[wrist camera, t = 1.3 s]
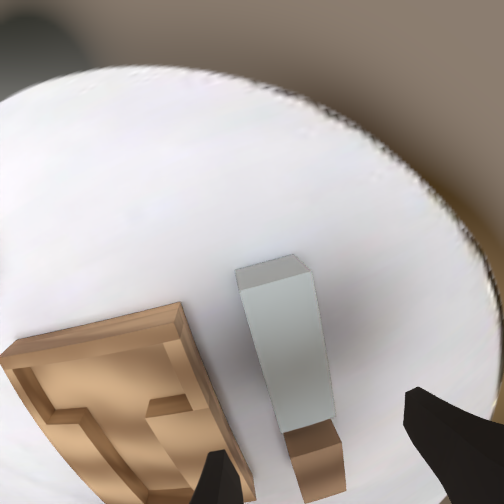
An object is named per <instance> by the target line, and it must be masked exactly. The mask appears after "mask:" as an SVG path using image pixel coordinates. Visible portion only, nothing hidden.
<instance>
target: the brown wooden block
mask: <svg viewBox="0 0 504 504" xmlns="http://www.w3.org/2000/svg"><path fill="white" fill-rule="evenodd" d="M283 434H284V438H285V442H286V445H287V449H288V453H289V456H290V460H291V463H292V466H293V469H294V472H295V475H296V478H297V481H298V485H299V488H300V491H301V494H302V497H303V500H304V503H305V504H306V503H309V502H313V501H316V500H320V499H323V498H326V497H329V496H333V495H336V494H339V493H342V492H344V491H346V480H345V469H344V460H343V450H342V442H341V440H340V438H339V436H338V434H337V432H336V429H335V427H334V425H333V423H332V421H331V419H327V420H324V421H321V422H318V423H315V424H312V425H309V426H305V427H302V428H299V429H295V430H292V431H288V432H284V433H283Z"/></svg>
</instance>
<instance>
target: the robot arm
mask: <svg viewBox="0 0 504 504" xmlns="http://www.w3.org/2000/svg"><path fill="white" fill-rule="evenodd" d="M403 426H404V428H405V430H406V431H407V433H408V435H409V437H410V439H411V441H412V443H413V444H414V446H415V447H416V449H417V450H418V451H419V453H420V454H421V456H422V457H423V458H424V460H425V461H426V462H427V464H428V465H429V466H430V468H431V469H432V471H433V472H434V473H435V475H436V476H437V477H438V479H439V481H440V482H441V484H442V485H443V487H444V489H445V491H446V493H447V495H448V497H449V499H450V501H451V503H452V504H504V425H503V424H499V423H496V422H492V421H489V420H486V419H483V418H480V417H478V416H475V415H473V414H470V413H468V412H466V411H464V410H462V409H460V408H458V407H455V406H453V405H451V404H449V403H448V402H446V401H444V400H442V399H440V398H438V397H436V396H435V395H433V394H431V393H429V392H428V391H426V390H424V389H422V388H420V387H416V388H414V389H412V390H410V391H408V392H405V408H404V420H403ZM189 504H244V499H243V492H242V486H241V481H240V476H239V474H238V473H237V471H236V469H235V467H234V465H233V464H232V462H231V460H230V458H229V456H228V454H227V452H226V451H225V449H223V450H217V451H211V452H209V453H208V454H207V457H206V461H205V464H204V467H203V470H202V473H201V476H200V478H199V481H198V484H197V486H196V488H195V491H194V493H193V496H192V498H191V500H190V502H189Z"/></svg>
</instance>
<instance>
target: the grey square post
mask: <svg viewBox="0 0 504 504" xmlns="http://www.w3.org/2000/svg"><path fill="white" fill-rule="evenodd" d="M235 273H236V278H237V283H238V289H239V293H240V296H241V300H242V303H243V307H244V310H245V314H246V317H247V321H248V324H249V328H250V331H251V335H252V338H253V342H254V345H255V349H256V352H257V355H258V359H259V362H260V366H261V369H262V372H263V376H264V379H265V382H266V386H267V389H268V392H269V396H270V399H271V402H272V405H273V409H274V412H275V415H276V418H277V422H278V425H279V428H280V431H281V433H284V432H288V431H292V430H295V429H299V428H302V427H305V426H309V425H312V424H315V423H318V422H321V421H324V420H327V419H330V418H333V417H336V413H335V405H334V398H333V391H332V385H331V378H330V371H329V365H328V359H327V353H326V347H325V341H324V335H323V329H322V323H321V318H320V312H319V307H318V301H317V296H316V291H315V286H314V281H313V276H312V271H311V270H310V269H309V268H308V267H307V266H306V265H305V264H304V263H303V262H302V261H300V260H299V259H298V258H297V257H296V256H295V255H294V254H292V255H288V256H285V257H281V258H277V259H274V260H270V261H266V262H263V263H259V264H255V265H251V266H248V267H244V268H240V269H237V270H235Z"/></svg>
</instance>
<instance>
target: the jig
mask: <svg viewBox="0 0 504 504" xmlns="http://www.w3.org/2000/svg"><path fill="white" fill-rule="evenodd" d="M0 364H1V366H2V368H3V370H4V372H5V373H6V375H7V377H8V379H9V380H10V382H11V384H12V386H13V387H14V389H15V391H16V392H17V394H18V396H19V397H20V399H21V400H22V402H23V404H24V405H25V407H26V408H27V410H28V411H29V413H30V414H31V416H32V417H33V419H34V420H35V422H36V423H37V424H38V426H39V427H40V429H41V430H42V431H43V433H44V434H45V436H46V437H47V438H48V440H49V441H50V442H51V443H52V445H53V446H54V447H55V449H56V450H57V451H58V452H59V454H60V455H61V456H62V457H63V458H64V460H65V461H66V462H67V463H68V464H69V466H70V467H71V468H72V469H73V470H74V471H75V472H76V474H77V475H78V476H79V477H80V478H81V479H82V480H83V481H84V482H85V483H86V485H87V486H88V487H89V488H90V489H91V490H92V491H93V492H94V493H95V494H96V495H97V496H98V497H99V498H100V499H101V500H102V501H103V502H104V503H105V504H189V502H190V500H191V498H192V496H193V493H194V491H195V488H196V486H197V484H198V481H199V478H200V476H201V473H202V470H203V467H204V464H205V461H206V457H207V454H208V453H209V452H211V451H217V450H223V449H225V451H226V452H227V454H228V456H229V458H230V460H231V462H232V464H233V465H234V467H235V469H236V471H237V473H238V474H239V476H240V481H241V486H242V492H243V499H244V503H245V502H251V501H256V494H255V488H254V481H253V475H252V473H251V471H250V469H249V467H248V465H247V463H246V461H245V459H244V457H243V455H242V453H241V451H240V448H239V446H238V444H237V442H236V440H235V438H234V435H233V433H232V431H231V429H230V427H229V424H228V422H227V420H226V418H225V415H224V413H223V411H222V408H221V406H220V404H219V401H218V399H217V397H216V394H215V392H214V390H213V387H212V385H211V382H210V380H209V377H208V375H207V372H206V370H205V367H204V365H203V362H202V360H201V357H200V355H199V352H198V349H197V347H196V344H195V342H194V339H193V336H192V333H191V331H190V328H189V325H188V323H187V320H186V317H185V314H184V311H183V308H182V306H181V303H180V302H177V303H174V304H170V305H166V306H162V307H158V308H154V309H150V310H145V311H141V312H137V313H133V314H129V315H125V316H121V317H116V318H112V319H108V320H104V321H99V322H95V323H91V324H86V325H82V326H78V327H73V328H69V329H64V330H60V331H55V332H51V333H46V334H41V335H37V336H32V337H27V338H22V339H18V340H16V341H15V342H14V343H13V344H12V345H10V346H9V347H8V348H7V349H6V350H5V351H4V352H3V353H2V354H1V355H0Z"/></svg>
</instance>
